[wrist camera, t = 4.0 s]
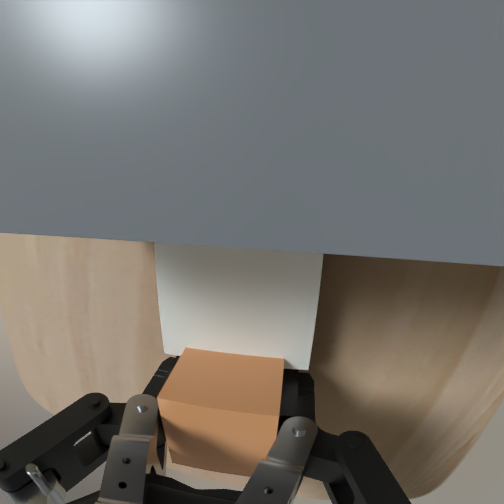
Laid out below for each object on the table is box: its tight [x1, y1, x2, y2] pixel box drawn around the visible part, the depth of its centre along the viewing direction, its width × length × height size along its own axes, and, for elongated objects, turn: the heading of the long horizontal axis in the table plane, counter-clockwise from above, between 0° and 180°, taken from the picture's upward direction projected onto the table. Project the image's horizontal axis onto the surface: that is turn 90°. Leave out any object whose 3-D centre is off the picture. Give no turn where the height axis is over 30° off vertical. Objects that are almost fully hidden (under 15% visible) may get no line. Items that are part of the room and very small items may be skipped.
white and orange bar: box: [154, 242, 323, 477], centre depth 10 cm, size 20×6×5 cm, turn 178°
